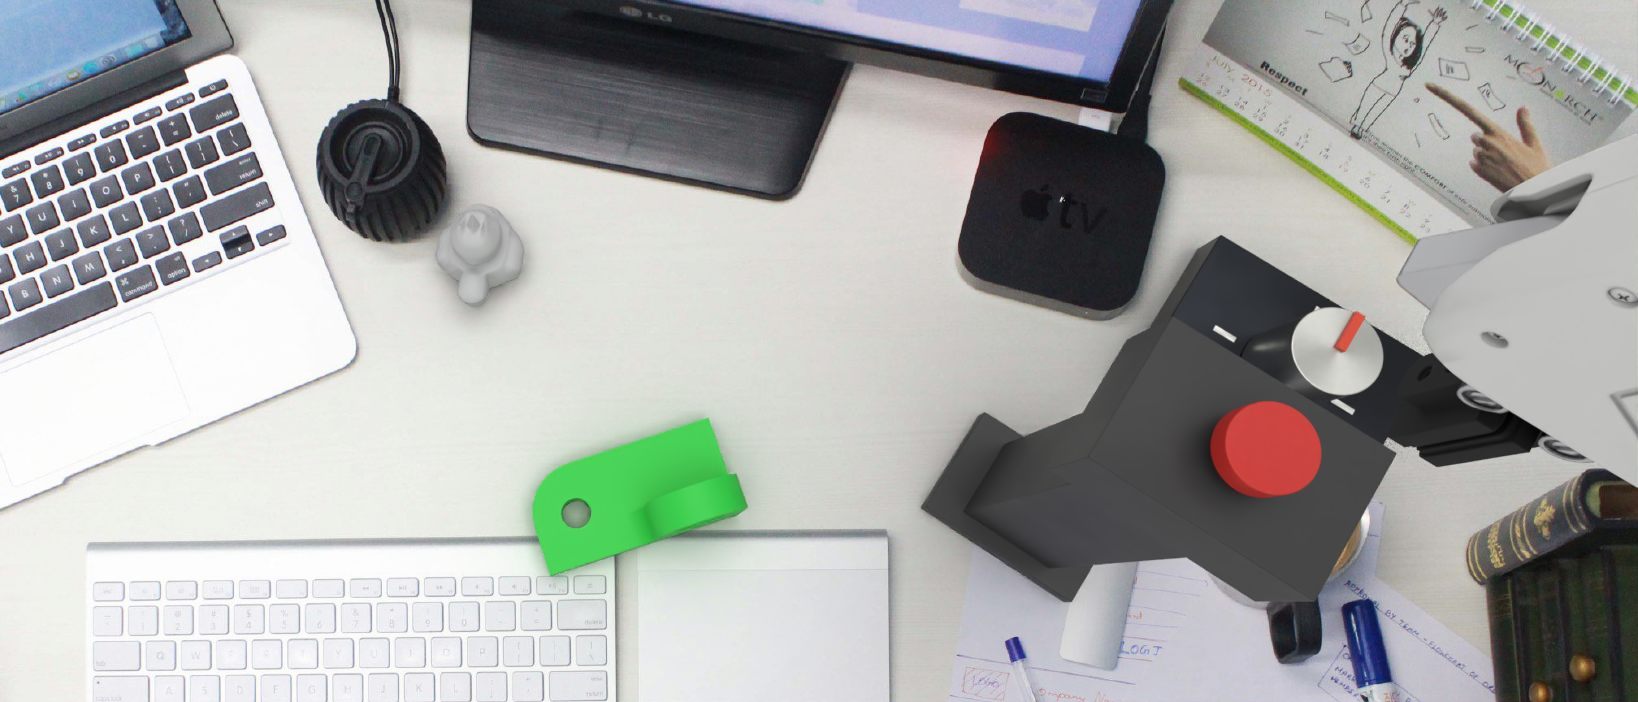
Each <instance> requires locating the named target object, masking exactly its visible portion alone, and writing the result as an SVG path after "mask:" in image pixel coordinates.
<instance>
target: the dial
mask: <svg viewBox="0 0 1638 702" xmlns="http://www.w3.org/2000/svg"><path fill="white" fill-rule="evenodd" d="M1343 308H1344V307H1343ZM1343 308H1337V307H1326V308H1320V309H1317V310H1314V311H1312V312H1309V313H1307V314H1305V315H1302V316H1300V317H1297V318H1295V319H1293V320H1290V321H1288V322H1285V323H1283V324H1281V325H1278V326H1276V327H1273V328H1271V329H1269V330H1266V331H1264V332H1261V333H1259V334H1258V335H1256V336H1255V337H1253V338H1252V339H1251V340H1250V341H1249V342H1248V344H1247V345H1246V347H1245V349H1244V351H1243V354H1242V357H1241V358H1242V359H1244V360H1246V361H1247V362H1249V363H1250V364H1252V365H1254V366H1255V367H1257V368H1259V369H1260V370H1262V371H1264V372H1265V373H1267V374H1268V375H1270V376H1272V377H1273V378H1275V379H1277V380H1278V381H1280V382H1282V383H1283V384H1285V385H1286V386H1288V387H1290V388H1291V389H1293V390H1295V391H1296V392H1298V393H1300V394H1301V395H1303V396H1304V397H1306V398H1308V399H1309V400H1311V401H1313V402H1314V403H1316V404H1321V403H1325V402H1328V401H1332V400H1335V399H1339V398H1343V397H1346V396H1350V395H1353V394H1357V393H1359V392H1362V391H1364V390H1365V389H1367V388H1368V387H1369V386H1371V385H1372V384H1373V383H1374V381H1375V380H1376V379H1377V377H1378V376H1379V374H1380V372H1381V369H1382V365H1383V348H1382V344H1381V341H1380V339H1379V336H1378V335H1377V333H1376V331H1375V330H1374V329H1373V327H1372V326H1371V325H1372V324H1371V323H1370V324H1371V325H1370V324H1369V321H1367V320H1366V315H1364V314H1362V313H1360V312H1359V311H1352V310H1349V309H1346V308H1344V309H1343Z"/></svg>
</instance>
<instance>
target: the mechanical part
mask: <svg viewBox="0 0 1638 702" xmlns="http://www.w3.org/2000/svg"><path fill="white" fill-rule="evenodd" d="M728 471H729V470H728V469H727V465H726V463H725V460H724V458H723V455H722V452H721V449H720V445H719V442H718V440H717V437H716V434H715V431H714V429H713V426H712V423H711V420H710V417H706V418H702V419H699V420H696V421H692V422H690V423H686V424H684V425H681V426H678V427H675V428H672V429H668V430H666V431H663V432H659V433H656V434H653V435H650V436H647V437H644V438H641V439H638V440H635V441H631V442H629V443H626V444H622V445H618V446H616V447H613V448H610V449H607V450H604V451H601V452H598V453H595V454H591V455H589V456H586V457H583V458H580V459H576V460H574V461H570V462H568V463H564V464H561V465H560V466H558V467H557V468H555V469H553V470H552V471H551V472H549V473H548V474H547V475H546V477H544V478H543V480H542V481H541V482H540V484H539V486H538V488H537V489H536V492H535V494H534V496H533V497H534V498H533V502H532V511H531V512H532V521H533V526H534V529H535V533H536V536H537V539H538V541H539V545H540V549H541V552H542V554H543V558H544V561H545V564H546V567H547V571H548V573H549V576H550V577H553V576H556V574H557V575H560V574H563V573H566V572H569V571H572V570H575V569H578V568H581V567H584V566H586V565H590V564H593V563H596V562H599V561H602V560H605V559H609V558H611V557H614V556H618V555H620V554H623V553H626V552H629V551H632V550H636V549H638V548H642V547H644V546H647V545H651V544H654V543H657V542H659V541H663V540H666V539H669V538H672V537H675V536H677V535H682V534H684V533H687V532H689V531H692V530H696V529H699V528H702V527H705V526H708V525H711V524H714V523H717V522H721V521H724V520H726V519H729V518H732V517H735V516H738V515H740V514H741V513H743V512H744V511H746V510H747V509H749V505H748V502H747V499H746V496H745V494H744V491H743V489H742V486H741V483H740V480H739V476H738V474H737V473H736V472H735V473H730V474H729V472H728ZM572 502H581V503H584V504H585V505H586V506H588V508H589V510H590V518H589V520H588V522H587V523H586V524H585V525H583V526H582V527H576V528H575V527H571V526H569V525H567V524H566V523H565V521H564V518H563V514H564V510H565V508H566V507H567V506H568V505H569V504H571V503H572ZM565 571H566V572H565ZM559 573H560V574H559Z"/></svg>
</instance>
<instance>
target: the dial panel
mask: <svg viewBox="0 0 1638 702" xmlns="http://www.w3.org/2000/svg"><path fill="white" fill-rule="evenodd" d="M1165 300H1166V301H1164V303H1163V305H1162V307H1161V309H1160V310H1159V312H1158V313H1157V315H1156V317H1155V318H1154V320H1153V321H1152V323H1151V325H1150V326H1149V328H1151V327H1153V326H1154V325H1156V324H1158V323H1160V322H1162V321H1164V320H1166V319H1168V318H1170V317H1172V316H1173V317H1175V318H1177V319H1179V320H1180V321H1182V322H1183V323H1185V324H1187V325H1188V326H1190V327H1192V328H1193V329H1195V330H1197V331H1198V332H1200V333H1201V334H1203V335H1205V336H1206V337H1208V338H1210V339H1211V340H1213V341H1215V342H1216V343H1218V344H1219V345H1221V346H1223V347H1224V348H1226V349H1228V350H1229V351H1231V352H1233V353H1234V354H1236V355H1237V356H1239V357H1242V354H1243V351H1244V349H1245V347H1246V345H1247V344H1248V342H1249V341H1250V340H1251V339H1252V338H1253V337H1255V336H1256V335H1258V334H1259V333H1261V332H1264V331H1266V330H1269V329H1271V328H1273V327H1276V326H1278V325H1281V324H1283V323H1285V322H1288V321H1290V320H1293V319H1295V318H1297V317H1300V316H1302V315H1305V314H1307V313H1309V312H1312V311H1314V310H1317V309H1320V308H1326V307H1337V308H1343V309H1345V307H1343V306H1341V305H1339V304H1337V302H1335V301H1333V300H1331V299H1329V298H1328V297H1326V296H1325V295H1323V294H1321V293H1319V292H1318V291H1316V290H1314V289H1313V288H1311V287H1309V286H1307V285H1306V284H1304V283H1303V282H1301V281H1299V280H1297V278H1294V277H1293V276H1291V275H1289V274H1288V273H1286V272H1284V271H1282V270H1281V269H1280V268H1278V267H1276V266H1274V265H1272V264H1271V263H1269V262H1267V261H1266V260H1265V259H1263V258H1261V257H1259V256H1257V255H1256V254H1254V253H1253V252H1251V251H1249V250H1248V249H1246V248H1244V247H1243V246H1241V245H1239V244H1238V243H1236V242H1234V241H1233V240H1231V239H1229V238H1227V237H1226V236H1224V235H1222V234H1220V235H1218V236H1217V237H1215V238H1213V239H1212V240H1210V241H1208V242H1206V243H1204V244H1203V245H1202V246H1199V247H1198V248H1197V249H1196V251H1195V252H1194V254H1193V255H1192V257H1191V259H1190V261H1189V262H1188V264H1187V265H1186V267H1185V269H1184V270H1183V272H1182V273H1181V275H1180V277H1179V279H1178V280H1177V282H1176V283H1175V285H1174V287H1173V288H1172V290H1171V291H1170V293H1169V295H1168V297H1167V298H1166V299H1165ZM1368 323H1369V322H1368ZM1369 324H1370V325H1371V326H1372V327H1373V329H1374V330H1375V331H1376V333H1377V335H1378V336H1379V339H1380V341H1381V344H1382V348H1383V365H1382V369H1381V372H1380V374H1379V376H1378V377H1377V379H1376V380H1375V381H1374V383H1373V384H1372V385H1371V386H1369V387H1368V388H1367V389H1365V390H1364V391H1362V392H1359V393H1357V394H1353V395H1350V396H1346V397H1343V398H1339V399H1335V400H1332V401H1328V402H1325V403H1321V404H1318V405H1319V406H1321V407H1322V408H1324V409H1326V410H1327V411H1329V412H1331V413H1332V414H1334V415H1335V416H1337V417H1339V418H1340V419H1342V420H1344V421H1345V422H1347V423H1349V424H1350V425H1352V426H1353V427H1355V428H1357V429H1358V430H1360V431H1362V432H1363V433H1365V434H1367V435H1368V436H1370V437H1371V438H1373V439H1375V440H1376V441H1378V442H1380V443H1381V444H1383V445H1385V443H1386V442H1387V439H1389V438H1388V437H1387V432H1388V430H1389V428H1390V426H1391V424H1392V422H1393V421H1394V419H1395V417H1396V415H1397V413H1398V412H1399V410H1400V408H1401V406H1402V404H1403V403H1404V400H1402V399H1400V398H1399V397H1398V396H1397V390H1398V388H1399V385H1400V383H1401V382H1402V380H1403V378H1404V376H1405V375H1406V373H1407V371H1408V370H1409V369H1410V367H1411V366H1412V365H1413V364H1414V363H1415V362H1416V361H1417V360H1418V359H1420V358H1421V357H1423V356H1424V355H1423V354H1421V353H1419V352H1418V351H1417V350H1414V348H1411V347H1409V346H1408V345H1406V344H1405V343H1403V342H1402V341H1400V340H1398V339H1396V338H1395V337H1393V336H1392V335H1389V334H1388V333H1387V332H1385V331H1383V330H1381V329H1379V327H1376V326H1374V325H1373V324H1371V323H1369Z"/></svg>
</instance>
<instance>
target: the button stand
mask: <svg viewBox="0 0 1638 702" xmlns="http://www.w3.org/2000/svg"><path fill="white" fill-rule="evenodd" d="M1150 327H1151V326H1150ZM1150 327H1149V328H1147V329H1145V330H1143V331H1141V332H1138V333H1137V334H1135V335H1133V336H1131V337H1129V338H1127V339H1126V340H1125V342H1124V343H1123V345H1122V347H1121V348H1120V350H1119V352H1118V353H1117V355H1116V357H1115V358H1114V360H1113V362H1112V363H1111V365H1110V366H1109V368H1108V370H1107V371H1106V373H1105V375H1104V376H1103V378H1102V380H1101V381H1100V383H1099V384H1098V387H1097V388H1096V390H1095V391H1094V393H1093V395H1092V396H1091V397H1090V400H1089V401H1088V403H1087V405H1086V406H1085V407H1084V409H1083V411H1082V412H1081V413H1078V414H1075V415H1073V416H1071V417H1068V418H1066V419H1063V420H1061V421H1058V422H1055V423H1054V424H1051V425H1047V426H1045V427H1043V428H1041V429H1039V430H1036V431H1033V432H1031V433H1028V434H1026V435H1022V434H1020V433H1019V432H1017V431H1016V430H1015V429H1013V428H1011V427H1010V426H1008V425H1006V424H1005V423H1003V422H1002V421H1000V420H998V418H995V417H993V416H992V415H991V414H989V413H988V412H986V411H984V412H981V413H980V414H978V416H976V419H975V420H974V421H973V423H972V425H971V426H970V428H969V430H968V431H967V432H966V435H965V437H964V438H963V440H962V441H961V443H960V444H959V446H958V447H957V449H956V451H955V452H954V454H953V456H952V457H951V459H950V460H949V462H948V464H947V465H946V467H945V469H944V470H943V471H942V474H940V475H939V476H940V477H939V478H938V479H937V481H936V482H935V485H934V486H933V487H932V489H931V490H930V492H929V494H928V495H927V497H926V499H925V501H924V502H923V504H922V505H921V506H920V509H921V510H923V511H924V512H925V513H927V514H929V515H930V516H932V517H933V518H935V520H938V521H939V522H941V523H942V524H944V525H945V526H947V527H949V529H952V530H953V531H955V532H956V533H958V535H961V536H962V537H964V538H965V539H967V540H968V541H970V542H971V543H973V544H974V545H976V546H978V547H979V548H980V549H982V550H983V551H985V552H986V553H988V554H990V555H991V556H992V557H994V558H996V559H998V561H1000V562H1002V563H1003V564H1005V565H1007V566H1008V567H1009V568H1011V569H1013V570H1014V571H1016V572H1017V573H1018V574H1020V575H1021V576H1023V577H1025V579H1028V580H1030V581H1031V582H1032V583H1034V584H1036V585H1037V586H1038V587H1040V588H1042V589H1043V590H1044V591H1046V592H1048V594H1051V595H1052V596H1054V597H1055V598H1057V599H1058V600H1060V601H1061V602H1063V603H1073V601H1074V599H1075V597H1076V596H1077V594H1078V592H1079V590H1080V589H1081V587H1082V586H1083V584H1084V582H1085V581H1086V578H1087V577H1088V575H1089V573H1090V572H1091V570H1092V569H1093V567H1094V566H1098V565H1111V564H1123V563H1124V564H1125V563H1134V562H1135V563H1137V562H1149V561H1161V560H1162V561H1163V560H1174V559H1188V560H1189V561H1191V562H1192V563H1194V564H1195V565H1197V566H1199V567H1200V568H1202V569H1204V571H1206V572H1208V573H1209V574H1211V575H1213V576H1214V577H1216V578H1217V579H1219V580H1221V581H1222V582H1223V583H1225V584H1226V585H1228V586H1230V587H1231V588H1233V589H1235V590H1236V591H1238V592H1239V593H1241V595H1244V596H1245V597H1247V598H1248V599H1250V600H1251V601H1253V602H1256V603H1260V602H1261V603H1262V602H1263V603H1264V602H1265V603H1271V602H1272V603H1273V602H1274V603H1275V602H1276V603H1277V602H1278V603H1280V602H1284V603H1285V602H1287V603H1288V602H1289V603H1290V602H1293V603H1294V602H1302V603H1303V602H1307V603H1309V602H1310V603H1311V602H1312V603H1313V602H1316V601H1317V599H1318V597H1319V595H1320V594H1321V592H1322V591H1323V588H1324V587H1325V584H1326V582H1327V581H1328V579H1329V577H1330V575H1331V573H1332V572H1333V570H1334V568H1335V566H1336V565H1337V563H1338V561H1339V559H1340V558H1341V556H1342V554H1343V552H1344V550H1345V548H1346V546H1347V545H1348V543H1349V541H1350V540H1351V537H1352V536H1353V534H1354V532H1355V530H1356V529H1357V527H1358V525H1359V523H1360V522H1361V519H1362V517H1363V516H1364V514H1365V513H1366V510H1367V509H1368V507H1369V505H1370V503H1371V501H1372V499H1373V498H1374V496H1375V494H1376V493H1377V490H1378V488H1379V487H1380V485H1381V483H1382V481H1383V480H1384V478H1385V476H1386V474H1387V472H1388V471H1389V469H1390V467H1391V465H1392V463H1393V462H1394V460H1395V458H1396V457H1397V455H1398V454H1397V451H1394V450H1393V449H1391V448H1389V447H1388V446H1386V445H1385V444H1384V445H1383V444H1381V443H1380V442H1378V441H1376V440H1375V439H1373V438H1371V437H1370V436H1368V435H1367V434H1365V433H1363V432H1362V431H1360V430H1358V429H1357V428H1355V427H1353V426H1352V425H1350V424H1349V423H1347V422H1345V421H1344V420H1342V419H1340V418H1339V417H1337V416H1335V415H1334V414H1332V413H1331V412H1329V411H1327V410H1326V409H1324V408H1322V407H1321V406H1319V405H1318V404H1316V403H1314V402H1313V401H1311V400H1309V399H1308V398H1306V397H1304V396H1303V395H1301V394H1300V393H1298V392H1296V391H1295V390H1293V389H1291V388H1290V387H1288V386H1286V385H1285V384H1283V383H1282V382H1280V381H1278V380H1277V379H1275V378H1273V377H1272V376H1270V375H1268V374H1267V373H1265V372H1264V371H1262V370H1260V369H1259V368H1257V367H1255V366H1254V365H1252V364H1250V363H1249V362H1247V361H1246V360H1244V359H1242V358H1241V357H1239V356H1237V355H1236V354H1234V353H1233V352H1231V351H1229V350H1228V349H1226V348H1224V347H1223V346H1221V345H1219V344H1218V343H1216V342H1215V341H1213V340H1211V339H1210V338H1208V337H1206V336H1205V335H1203V334H1201V333H1200V332H1198V331H1197V330H1195V329H1193V328H1192V327H1190V326H1188V325H1187V324H1185V323H1183V322H1182V321H1180V320H1179V319H1177V318H1175V317H1173V316H1172V317H1170V318H1168V319H1166V320H1164V321H1162V322H1160V323H1158V324H1156V325H1154V326H1153V327H1151V328H1150ZM1261 401H1273V402H1279V403H1283V404H1286V405H1288V406H1290V407H1292V408H1294V409H1296V410H1297V411H1299V412H1300V413H1301V414H1303V415H1304V416H1305V417H1306V418H1307V419H1308V420H1309V421H1310V423H1311V424H1312V426H1313V427H1314V429H1315V431H1316V432H1317V435H1318V437H1319V440H1320V444H1321V463H1320V466H1319V469H1318V471H1317V474H1316V475H1315V477H1314V478H1313V480H1312V481H1311V482H1310V483H1309V484H1308V485H1307V486H1306V487H1304V488H1303V489H1301V490H1300V491H1297V492H1295V493H1292V494H1289V495H1283V496H1277V497H1270V498H1256V497H1251V496H1247V495H1245V494H1242V493H1240V492H1238V491H1237V490H1235V489H1234V488H1232V487H1231V486H1230V485H1228V484H1227V483H1226V482H1225V481H1224V480H1223V478H1222V477H1221V476H1220V475H1219V473H1218V472H1217V470H1216V468H1215V466H1214V463H1213V460H1212V456H1211V438H1212V434H1213V431H1214V429H1215V427H1216V425H1217V424H1218V422H1219V421H1220V420H1221V419H1222V418H1223V417H1224V416H1225V415H1226V414H1227V413H1229V412H1230V411H1232V410H1234V409H1237V408H1239V407H1243V406H1246V405H1249V404H1252V403H1256V402H1261Z"/></svg>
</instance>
